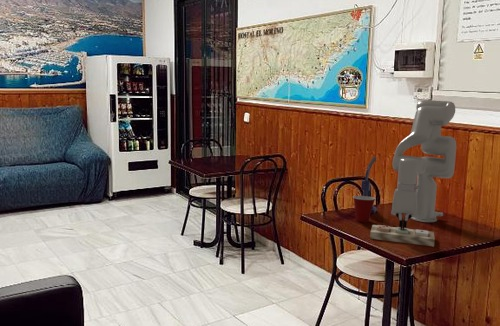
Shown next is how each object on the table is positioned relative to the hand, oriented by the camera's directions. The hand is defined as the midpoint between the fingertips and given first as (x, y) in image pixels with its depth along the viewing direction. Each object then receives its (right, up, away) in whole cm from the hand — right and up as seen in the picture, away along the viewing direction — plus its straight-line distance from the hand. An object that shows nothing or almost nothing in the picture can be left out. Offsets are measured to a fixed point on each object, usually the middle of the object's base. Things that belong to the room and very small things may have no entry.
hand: (402, 228), depth 218 cm
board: (0, -4, +1) cm, 4 cm away
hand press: (-4, +3, +47) cm, 48 cm away
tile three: (-8, -3, +3) cm, 9 cm away
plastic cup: (-11, 0, +28) cm, 30 cm away
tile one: (+8, -4, -2) cm, 9 cm away
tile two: (0, -4, +1) cm, 4 cm away
